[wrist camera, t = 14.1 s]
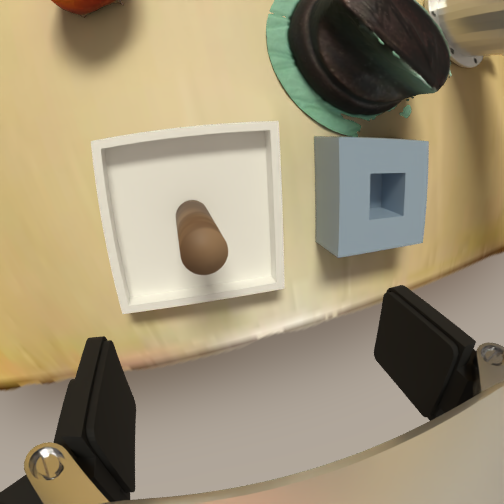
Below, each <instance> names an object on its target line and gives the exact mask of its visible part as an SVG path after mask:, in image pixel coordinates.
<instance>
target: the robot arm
mask: <svg viewBox="0 0 504 504" xmlns="http://www.w3.org/2000/svg"><path fill="white" fill-rule="evenodd" d="M424 8H425V9H426V10H427V11H428V13H429V15H430V16H431V17H432V18H433V20H434V21H435V22H436V23H437V24H438V26H439V27H440V28H441V29H442V32H443V35H444V37H445V39H446V41H447V43H448V47H449V51H450V55H451V57H450V60H451V61H452V62H454V63H455V64H457V65H459V66H461V67H465V68H471V67H476V66H477V65H479V64H480V62H481V61H482V59H483V56H485V55H500V54H501V55H504V0H424ZM475 343H476V341H475V340H473V339H472V338H471V337H470V336H468V335H467V334H466V333H465V332H464V331H462V330H461V329H460V328H459V327H457V326H456V325H455V324H453V323H452V322H451V321H450V320H448V319H447V318H446V317H444V316H443V315H442V314H441V313H439V312H438V311H437V310H436V309H434V308H433V307H432V306H430V305H429V304H428V303H426V302H425V301H424V300H423V299H421V298H420V297H419V296H417V295H416V294H415V293H413V292H412V291H411V290H409V289H408V288H407V287H405V286H403V285H400V286H396V287H392V288H389V289H388V290H387V292H386V293H385V294H384V297H383V303H382V309H381V315H380V321H379V327H378V333H377V338H376V343H375V349H374V356H375V359H376V361H377V362H378V363H379V364H380V365H381V366H382V368H383V369H384V370H385V371H386V372H387V373H388V375H389V376H390V377H391V378H392V379H393V381H394V382H395V383H396V384H397V385H398V387H399V388H400V389H401V390H402V391H403V393H404V394H405V395H406V396H407V397H408V399H409V400H410V401H411V402H412V403H413V404H414V406H415V407H416V408H417V409H418V411H419V412H420V413H421V414H422V415H423V416H424V417H428V419H429V420H430V421H429V422H427V423H425V424H423V425H421V426H419V427H417V428H415V429H413V430H411V431H409V432H407V433H405V434H403V435H400V436H398V437H396V438H394V439H392V440H389V441H387V442H385V443H382V444H380V445H377V446H375V447H373V448H371V449H368V450H365V451H363V452H360V453H357V454H355V455H352V456H349V457H347V458H344V459H341V460H338V461H335V462H332V463H329V464H326V465H323V466H320V467H317V468H313V469H310V470H307V471H303V472H300V473H296V474H293V475H289V476H285V477H282V478H277V479H273V480H269V481H265V482H260V483H256V484H251V485H246V486H241V487H236V488H231V489H225V490H219V491H212V492H206V493H198V494H191V495H183V496H173V497H162V498H149V499H138V500H130V492H134V491H135V419H136V405H135V400H134V397H133V395H132V392H131V390H130V387H129V385H128V382H127V380H126V377H125V375H124V372H123V369H122V367H121V364H120V361H119V358H118V356H117V353H116V350H115V347H114V344H113V342H112V341H111V340H109V341H107V339H106V337H104V336H103V337H93V338H88V339H87V341H86V344H85V348H84V351H83V354H82V357H81V361H80V364H79V367H78V371H77V374H76V378H75V379H72V380H71V381H70V382H69V385H68V388H67V392H66V395H65V399H64V402H63V407H62V410H61V414H60V418H59V422H58V426H57V430H56V435H55V439H54V443H50V442H48V443H43V444H40V445H37V446H35V447H34V448H33V449H32V450H30V452H29V453H28V454H27V456H26V459H25V462H24V470H25V473H26V475H25V476H23V477H22V478H21V479H19V480H18V481H16V482H15V483H13V484H12V485H11V486H9V487H8V488H6V489H5V490H3V491H2V492H0V504H504V347H503V346H501V345H499V344H495V343H484V344H482V345H480V346H479V347H478V349H477V351H475V350H474V349H473V348H474V345H475Z"/></svg>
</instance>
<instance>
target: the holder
mask: <svg viewBox="0 0 504 504" xmlns="http://www.w3.org/2000/svg"><path fill="white" fill-rule="evenodd" d="M314 149H315V191H316V242H317V243H318V244H320V245H321V246H322V247H324V248H325V249H327V250H328V251H329V252H331V253H332V254H333V255H335V256H336V257H338V258H340V257H346V256H352V255H358V254H363V253H369V252H375V251H380V250H386V249H391V248H397V247H402V246H408V245H413V244H419V243H423V235H424V225H425V214H426V201H427V184H428V141H420V140H410V139H398V138H379V137H343V136H314Z"/></svg>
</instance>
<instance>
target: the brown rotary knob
mask: <svg viewBox="0 0 504 504" xmlns="http://www.w3.org/2000/svg"><path fill="white" fill-rule="evenodd" d="M270 12H272V13H274V14H269V15H268V20H267V25H266V35H267V46H268V53H269V57H270V60H271V63H272V66H273V69H274V71H275V73H276V75H277V77H278V79H279V80H280V82H281V84H282V85H283V87H284V89H285V90H286V91H287V93H288V94H289V96H290V97H291V99H292V100H293V101H294V102H295V103H296V104H297V105H298V106H299V108H301V109H302V110H303V111H304V112H305V113H306V114H307V115H309V116H310V117H311V118H313V119H314V120H315V121H317V122H318V123H320V124H322V125H323V126H325V127H327V128H329V129H331V130H333V131H335V132H338V133H341V134H344V135H347V136H352V137H358V134H357V131H360V129H361V126H360V125H359V124H357V123H355V122H354V121H352V120H351V121H350V120H346V119H344V118H343V117H342V115H341V113H343V114H345V115H347V116H351V117H357V118H361V119H364V120H367V121H370V120H369V119H372V120H374V119H375V117H376V116H378V115H380V114H381V113H384V112H386V111H391V110H392V109H395V107H396V106H397V104H398V103H400V102H401V100H403V99H405V98H408V97H412V96H416V95H419V94H428V93H435V92H437V91H438V90H439V89H440V88H441V87H442V85H444V83H445V82H446V80H447V77H448V75H449V74H450V76H452V74H451V71H450V64H451V62H450V57H451V55H450V51H449V47H448V43H447V41H446V39H445V37H444V35H443V32H442V29H441V28H440V27H439V26H438V24H437V23H436V22H435V21H434V20H433V18H432V17H431V16H430V15H429V13H428V11H427V10H426V9H425V8H423V7H422V6H421V5H420V4H419V3H418V2H417V1H416V0H275V1H274V3H273V5H272V7H271V9H270ZM282 16H285V17H286V18H284V17H282ZM450 76H449V78H450ZM412 98H414V97H412ZM406 101H409V99H406ZM410 113H411V107H410V105H407V106H406V107H404V109H403V112H402V113H400V116H403V117H405V118H408V116H409V115H410Z"/></svg>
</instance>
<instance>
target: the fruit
mask: <svg viewBox="0 0 504 504" xmlns="http://www.w3.org/2000/svg"><path fill="white" fill-rule="evenodd" d="M52 1H53V2H54V3H55V4H56V5H58V6H59V7H61V8H62V9H64V10H67V11H69V12H72V13H74V14H78V15H81V16H83V17H84V18H85V16H86V15H87V14H89V13H91V12H94V11H96V10H98V9H99V8H101V7H103V6H106V5H108V4H111V3H116V2H119V3H121V4H122V5H124V3H123V2H122V1H121V0H52Z"/></svg>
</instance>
